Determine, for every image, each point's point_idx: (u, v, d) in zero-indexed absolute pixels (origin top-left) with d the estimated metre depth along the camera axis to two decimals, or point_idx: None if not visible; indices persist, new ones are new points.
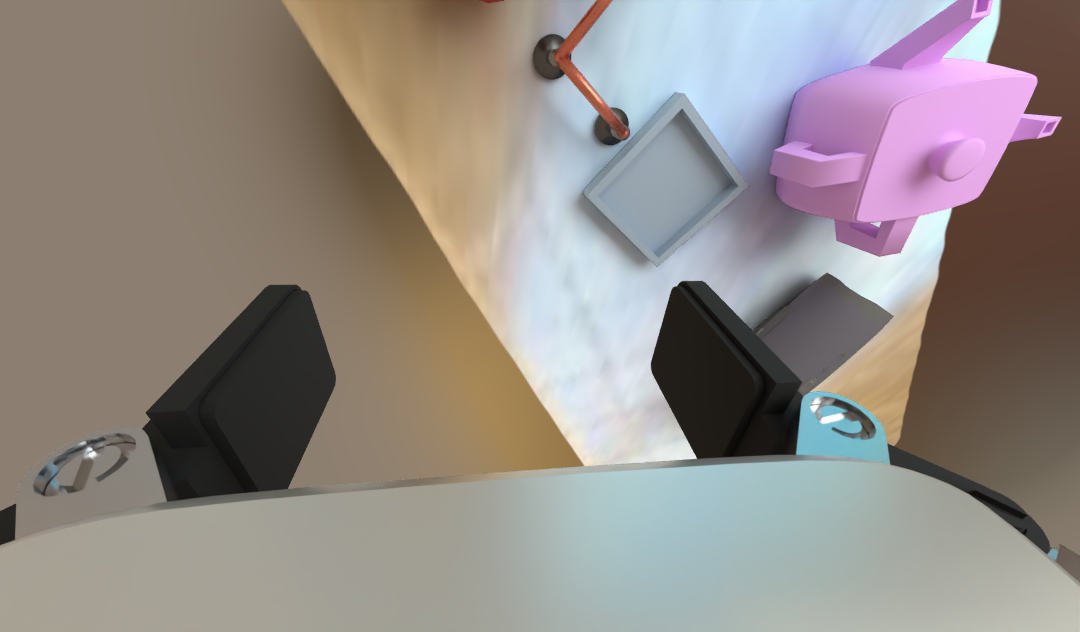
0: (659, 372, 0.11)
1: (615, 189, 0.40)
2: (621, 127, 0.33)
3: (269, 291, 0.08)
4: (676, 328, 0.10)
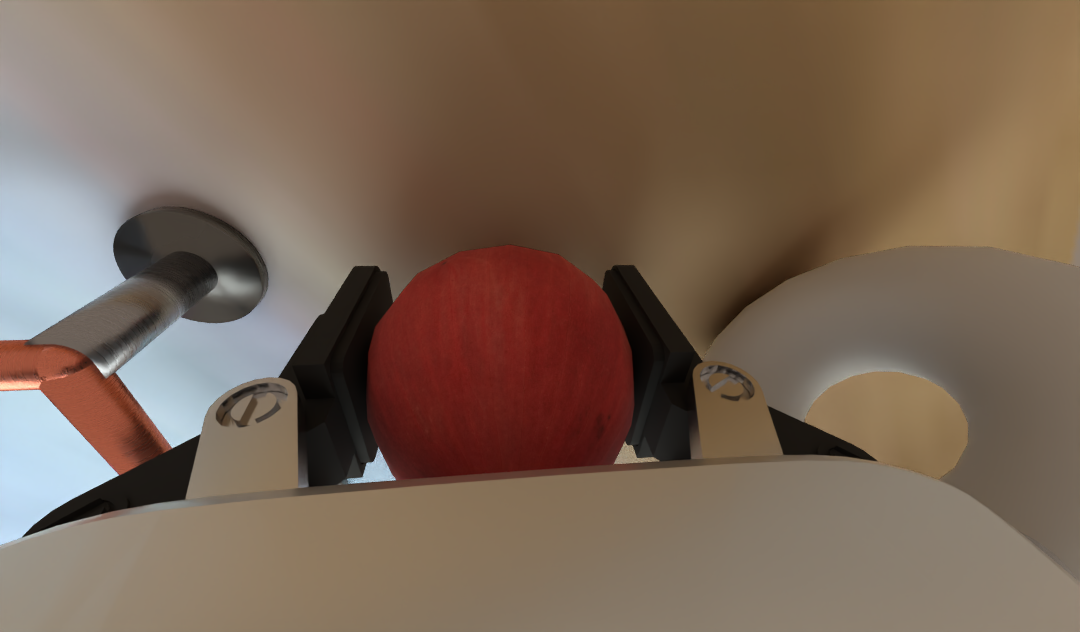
0: None
1: None
2: None
3: (357, 271, 0.09)
4: None
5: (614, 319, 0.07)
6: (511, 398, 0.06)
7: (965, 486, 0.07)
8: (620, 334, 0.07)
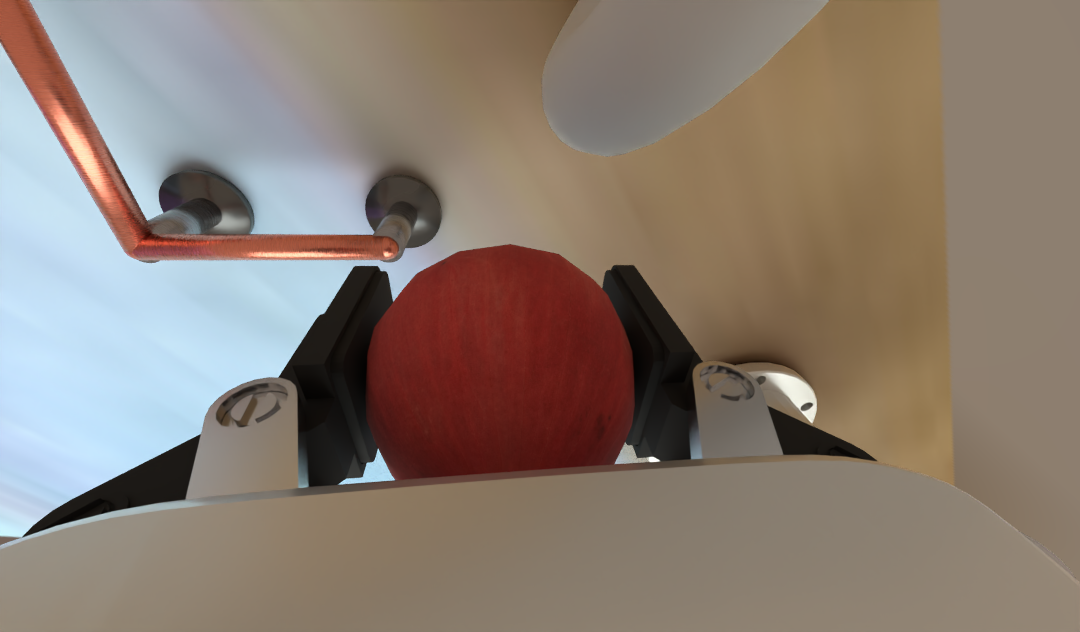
0: None
1: None
2: None
3: (357, 271, 0.09)
4: None
5: (614, 319, 0.07)
6: (511, 398, 0.06)
7: None
8: (620, 334, 0.07)
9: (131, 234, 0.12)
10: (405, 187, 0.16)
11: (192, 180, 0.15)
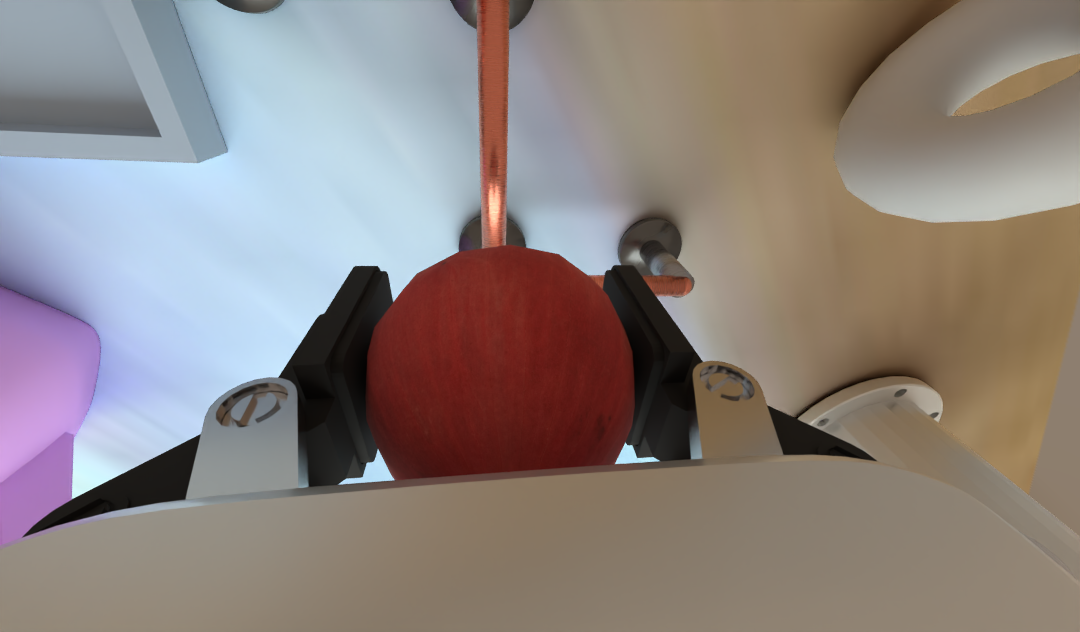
0: None
1: None
2: None
3: (357, 271, 0.09)
4: None
5: (615, 319, 0.07)
6: (511, 399, 0.06)
7: None
8: (621, 334, 0.07)
9: None
10: (660, 228, 0.19)
11: None
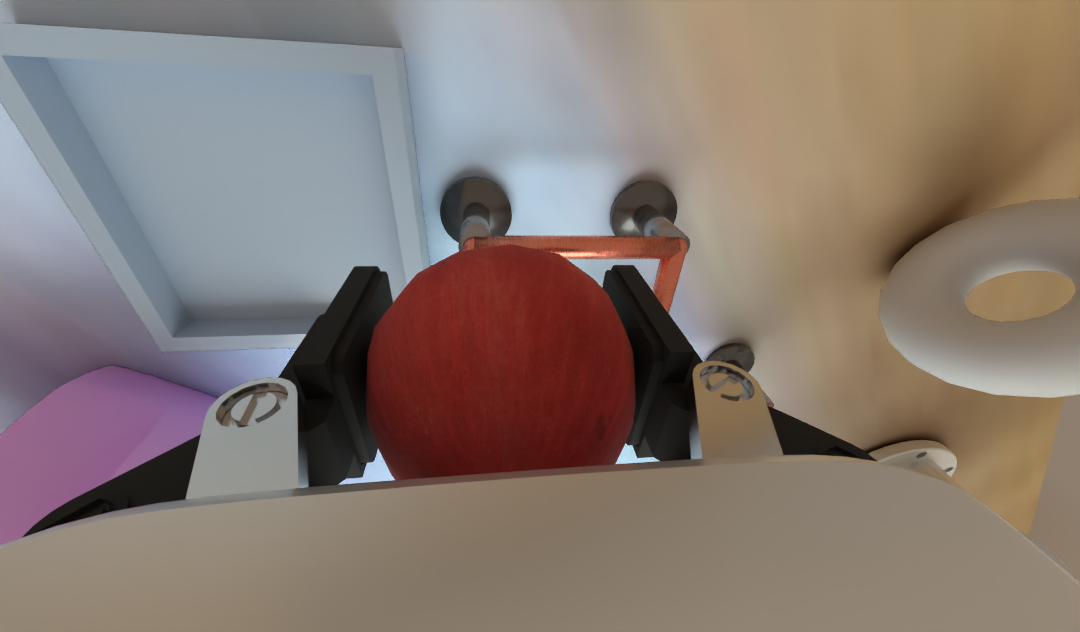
0: None
1: (347, 123, 0.15)
2: None
3: (357, 271, 0.09)
4: None
5: (615, 319, 0.07)
6: (511, 399, 0.06)
7: None
8: (621, 334, 0.07)
9: None
10: (740, 352, 0.24)
11: None
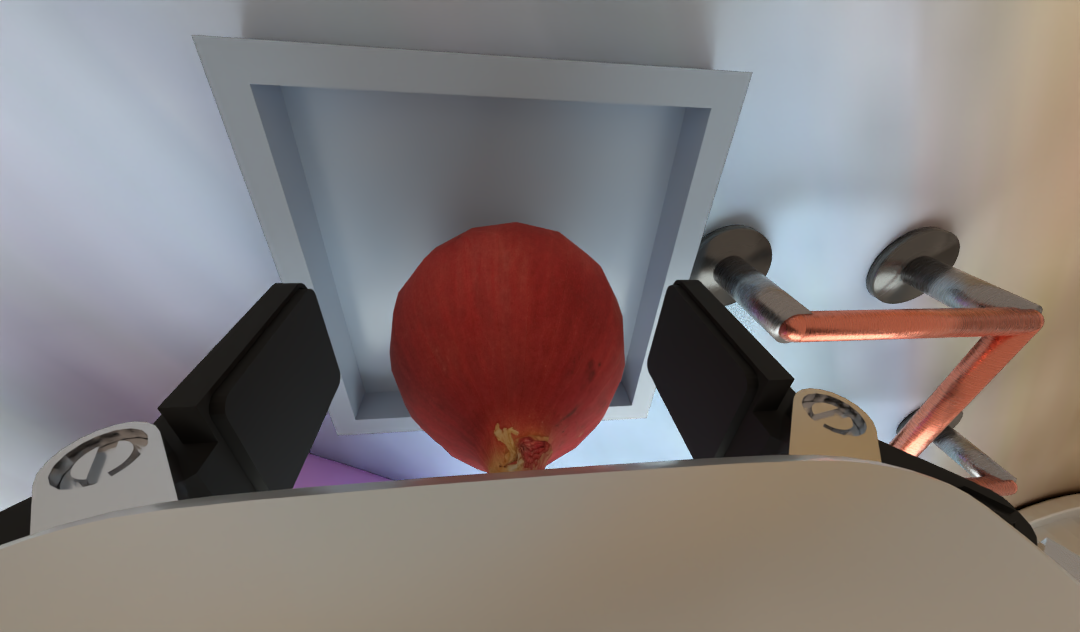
0: (654, 370, 0.11)
1: (623, 164, 0.11)
2: (820, 339, 0.11)
3: (276, 289, 0.08)
4: (671, 326, 0.10)
5: (606, 285, 0.08)
6: (516, 340, 0.07)
7: None
8: (611, 298, 0.09)
9: None
10: None
11: None
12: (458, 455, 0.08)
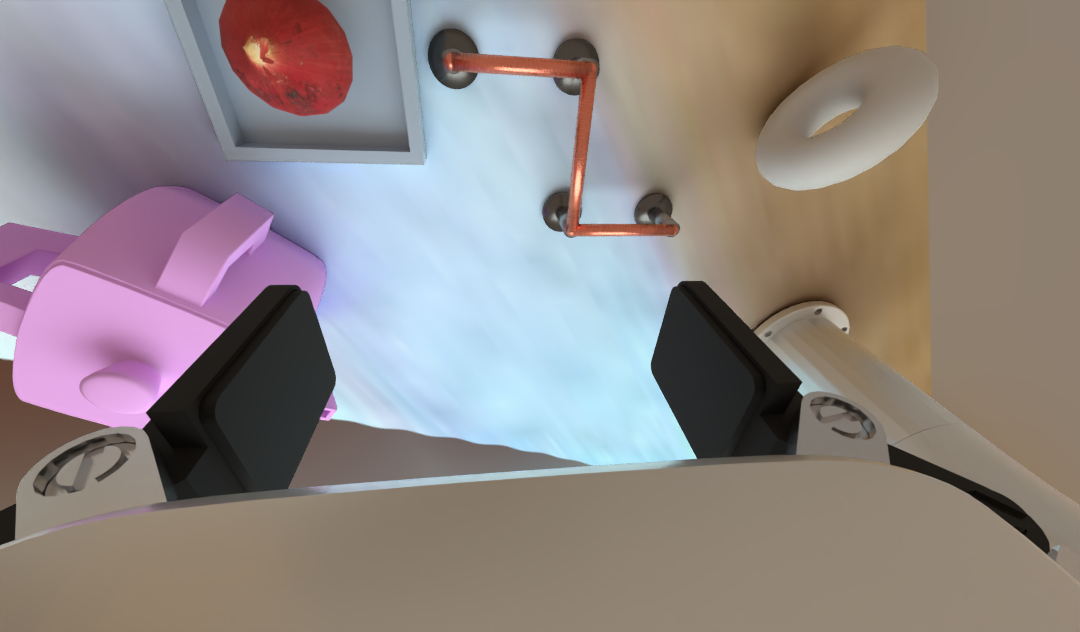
0: (659, 372, 0.11)
1: None
2: (463, 66, 0.21)
3: (269, 291, 0.08)
4: (676, 328, 0.10)
5: (319, 6, 0.19)
6: (258, 5, 0.17)
7: (859, 107, 0.23)
8: (324, 14, 0.19)
9: (576, 224, 0.28)
10: (660, 199, 0.32)
11: (564, 197, 0.31)
12: (246, 70, 0.18)
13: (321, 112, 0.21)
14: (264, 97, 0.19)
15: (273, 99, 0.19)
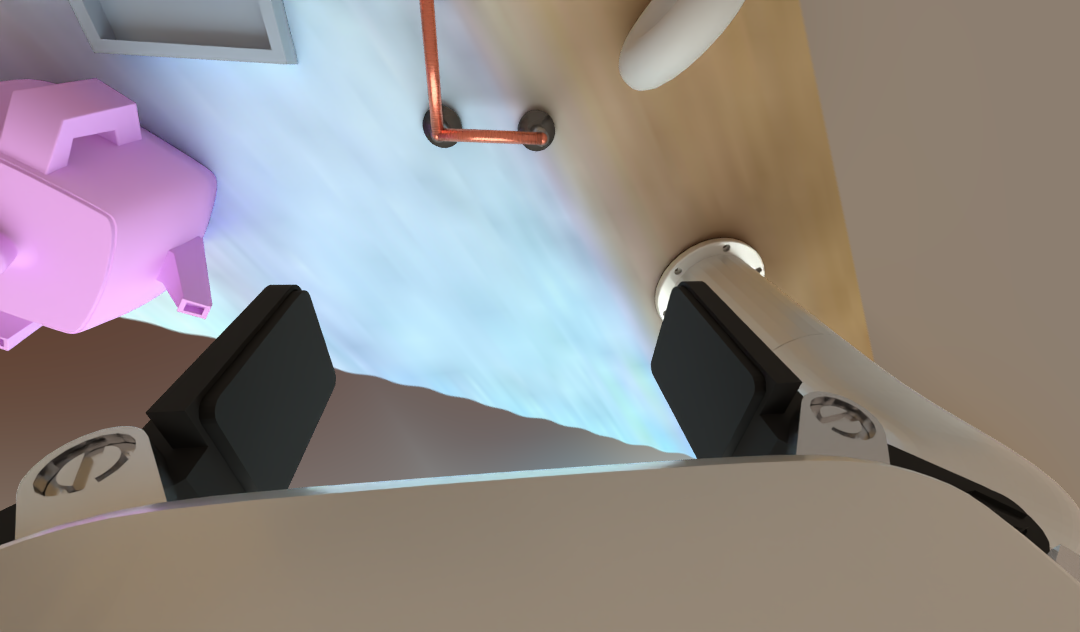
0: (659, 372, 0.11)
1: None
2: None
3: (269, 291, 0.08)
4: (676, 328, 0.10)
5: None
6: None
7: None
8: None
9: (439, 126, 0.29)
10: (540, 116, 0.33)
11: (441, 110, 0.31)
12: None
13: None
14: None
15: None
